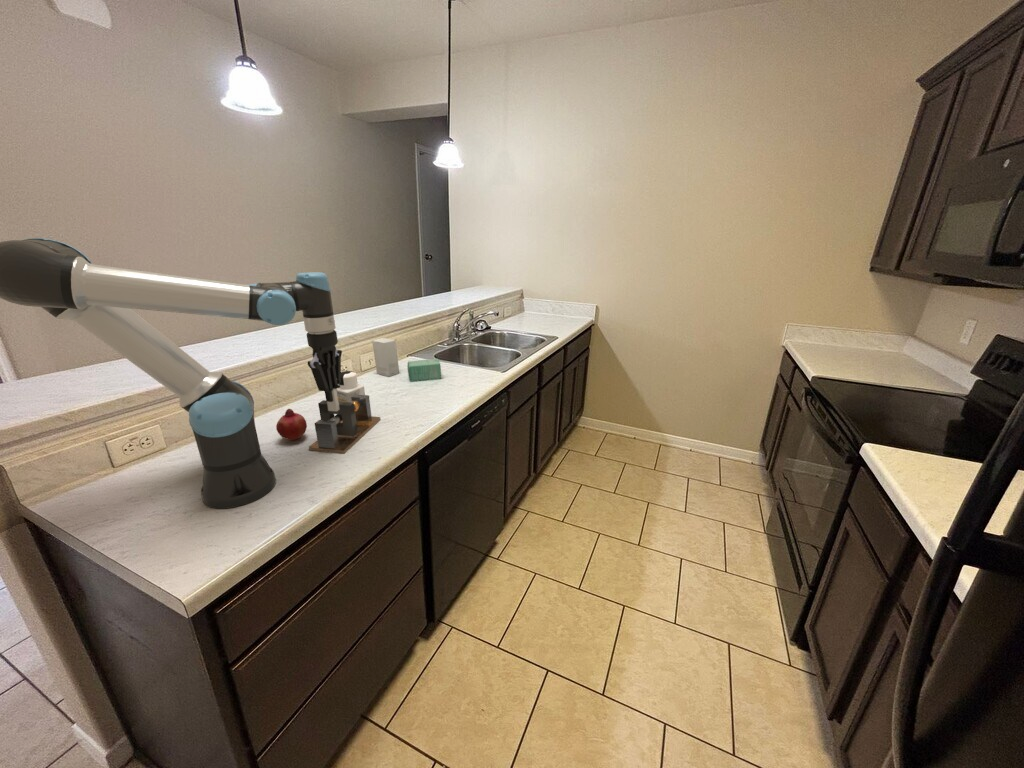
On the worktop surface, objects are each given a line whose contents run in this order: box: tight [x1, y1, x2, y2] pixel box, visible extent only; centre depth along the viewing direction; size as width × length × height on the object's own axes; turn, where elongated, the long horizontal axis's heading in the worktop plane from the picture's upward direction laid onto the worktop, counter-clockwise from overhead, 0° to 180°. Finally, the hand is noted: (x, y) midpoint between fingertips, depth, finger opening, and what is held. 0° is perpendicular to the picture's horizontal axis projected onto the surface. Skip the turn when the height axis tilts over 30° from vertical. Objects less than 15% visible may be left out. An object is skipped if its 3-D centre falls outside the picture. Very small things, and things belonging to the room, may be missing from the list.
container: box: [337, 370, 366, 402], centre depth 147 cm, size 8×8×13 cm
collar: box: [318, 399, 358, 436], centre depth 123 cm, size 2×10×10 cm, turn 81°
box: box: [407, 358, 442, 383], centre depth 178 cm, size 7×14×8 cm, turn 109°
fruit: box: [275, 408, 308, 441], centre depth 124 cm, size 8×8×10 cm
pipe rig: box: [308, 394, 381, 455], centre depth 127 cm, size 23×11×9 cm, turn 171°
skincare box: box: [371, 337, 400, 378], centre depth 181 cm, size 8×7×16 cm
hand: (334, 410), depth 120 cm, fingers closed
